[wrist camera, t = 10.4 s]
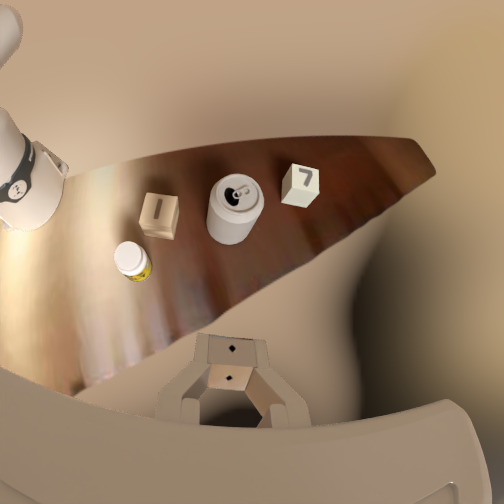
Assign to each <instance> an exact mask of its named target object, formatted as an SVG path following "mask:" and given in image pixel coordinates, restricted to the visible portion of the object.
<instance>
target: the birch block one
mask: <svg viewBox="0 0 504 504" xmlns="http://www.w3.org/2000/svg"><path fill="white" fill-rule="evenodd" d="M178 215H179V207H178V197H176V196H169V195H162V194H154V193H146V197H145V200H144V204H143V208H142V212H141V216H140V220H139V224H140V226H141V228H142V230H143V232H144V234H145V235H146V236H152V237H159V238H166V239H172V240H174V235H175V230H176V225H177V220H178Z"/></svg>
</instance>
